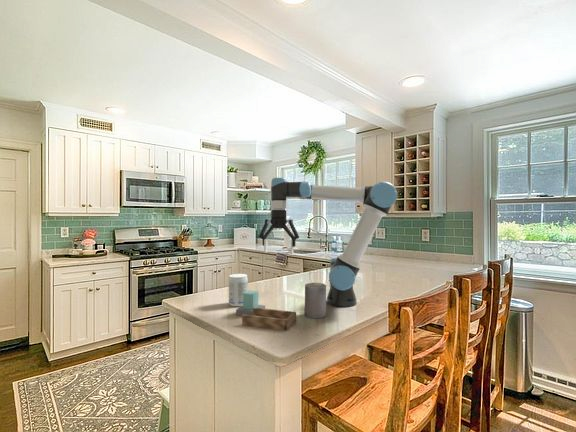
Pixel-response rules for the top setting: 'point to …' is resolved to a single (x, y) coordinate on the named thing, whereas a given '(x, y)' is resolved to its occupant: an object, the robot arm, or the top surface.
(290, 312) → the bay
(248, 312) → the trivet
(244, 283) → the supplement tub
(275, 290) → the top surface
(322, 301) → the pillar candle
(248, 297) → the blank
